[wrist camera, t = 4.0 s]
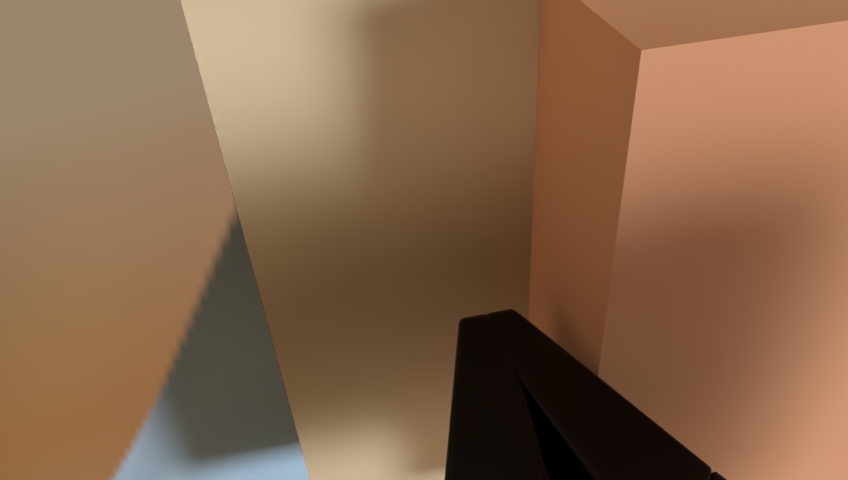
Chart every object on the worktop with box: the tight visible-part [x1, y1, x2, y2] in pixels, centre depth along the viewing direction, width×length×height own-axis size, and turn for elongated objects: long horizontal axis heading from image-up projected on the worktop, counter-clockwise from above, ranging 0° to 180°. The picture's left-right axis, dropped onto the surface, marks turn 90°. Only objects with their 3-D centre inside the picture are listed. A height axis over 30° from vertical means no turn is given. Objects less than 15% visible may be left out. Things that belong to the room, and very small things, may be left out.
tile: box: [528, 0, 848, 480], centre depth 10 cm, size 9×6×2 cm, turn 3°
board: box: [180, 0, 541, 480], centre depth 12 cm, size 16×9×4 cm, turn 3°
